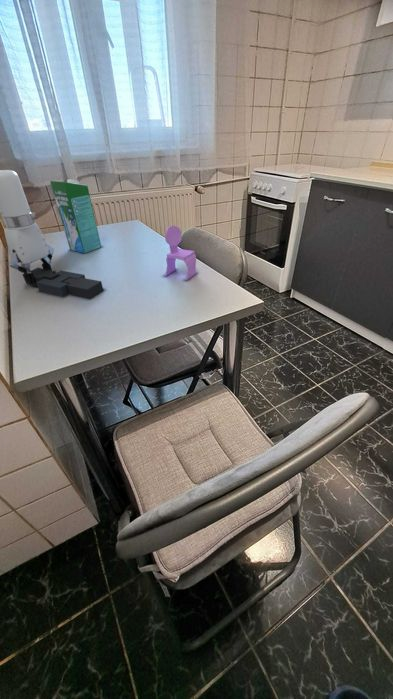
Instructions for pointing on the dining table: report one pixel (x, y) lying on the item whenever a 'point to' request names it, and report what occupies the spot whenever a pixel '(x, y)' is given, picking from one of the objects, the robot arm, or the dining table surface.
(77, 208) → the milk carton
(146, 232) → the dining table surface
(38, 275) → the pad
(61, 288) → the pad
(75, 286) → the pad
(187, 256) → the toy chair
